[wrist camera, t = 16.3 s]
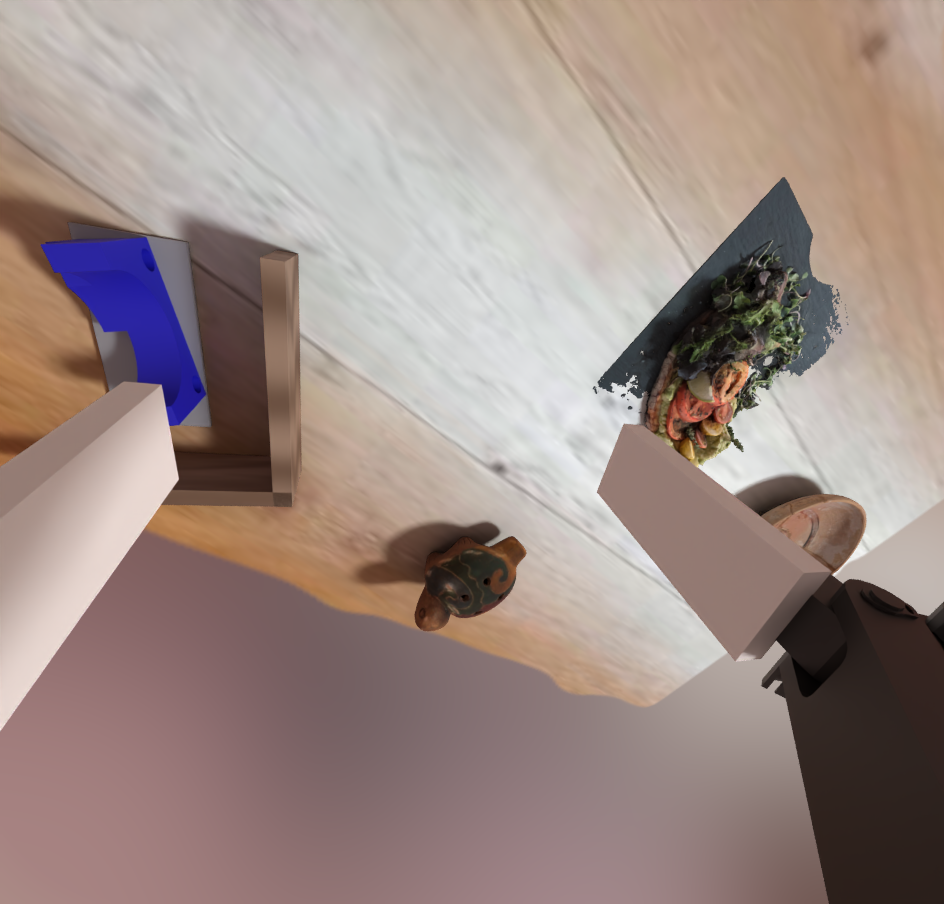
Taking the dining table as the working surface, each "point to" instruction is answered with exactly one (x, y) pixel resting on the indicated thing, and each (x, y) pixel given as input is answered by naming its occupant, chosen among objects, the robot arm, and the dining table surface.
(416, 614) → the decorative turtle
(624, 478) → the robot arm
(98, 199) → the dining table surface
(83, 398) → the dining table surface
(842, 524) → the ceramic bowl
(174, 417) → the blue curved block
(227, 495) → the corner walls
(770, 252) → the plated dish
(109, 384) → the grey mat
